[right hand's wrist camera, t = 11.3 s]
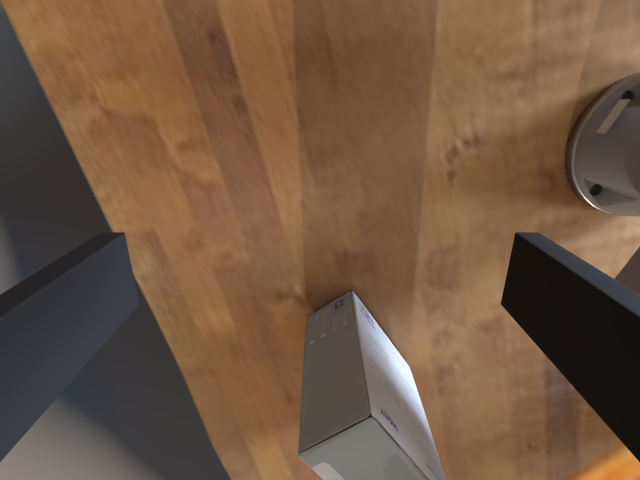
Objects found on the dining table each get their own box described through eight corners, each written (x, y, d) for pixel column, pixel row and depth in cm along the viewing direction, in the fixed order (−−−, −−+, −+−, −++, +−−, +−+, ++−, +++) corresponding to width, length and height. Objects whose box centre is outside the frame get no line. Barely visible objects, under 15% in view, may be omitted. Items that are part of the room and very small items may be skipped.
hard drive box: (303, 316, 48) (293, 453, 30) (351, 287, 47) (373, 412, 28) (366, 391, 53) (391, 550, 34) (412, 367, 51) (464, 519, 33)
